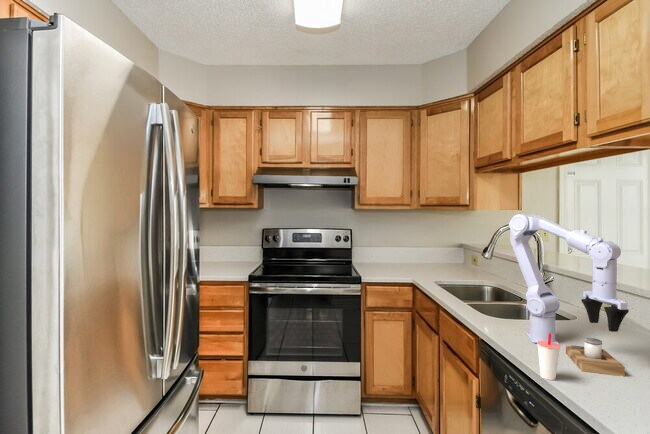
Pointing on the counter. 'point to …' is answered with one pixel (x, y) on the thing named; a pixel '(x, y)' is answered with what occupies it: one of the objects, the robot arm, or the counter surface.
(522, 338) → the counter surface
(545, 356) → the cup
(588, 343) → the salt shaker
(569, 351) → the jig
